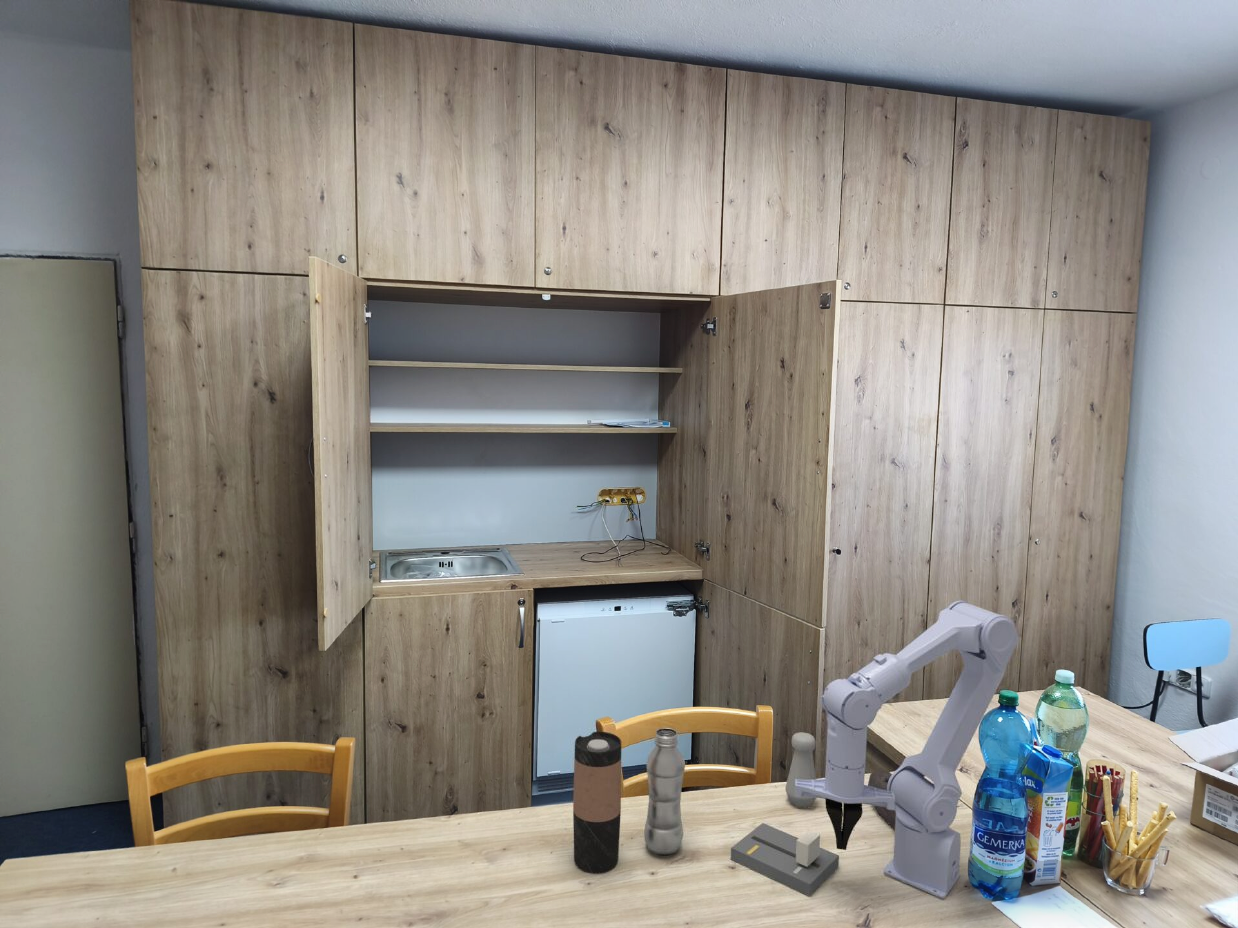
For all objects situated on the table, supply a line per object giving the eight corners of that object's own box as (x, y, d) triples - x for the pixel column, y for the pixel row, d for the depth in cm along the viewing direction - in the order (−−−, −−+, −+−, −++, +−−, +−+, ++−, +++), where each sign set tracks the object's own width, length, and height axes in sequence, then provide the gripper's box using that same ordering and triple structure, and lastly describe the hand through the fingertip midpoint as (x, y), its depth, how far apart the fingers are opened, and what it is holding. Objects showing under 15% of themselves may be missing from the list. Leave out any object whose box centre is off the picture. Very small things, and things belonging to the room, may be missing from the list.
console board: (838, 866, 125) (839, 854, 125) (809, 896, 118) (809, 883, 118) (762, 833, 134) (762, 822, 134) (730, 859, 127) (731, 846, 127)
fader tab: (819, 855, 124) (820, 834, 124) (807, 866, 121) (808, 845, 121) (807, 850, 125) (808, 829, 125) (795, 861, 122) (796, 840, 122)
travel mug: (614, 877, 121) (616, 754, 120) (567, 870, 123) (568, 749, 121) (623, 849, 129) (626, 733, 127) (579, 843, 130) (580, 728, 129)
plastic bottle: (636, 852, 128) (639, 735, 126) (654, 832, 134) (657, 720, 132) (672, 864, 125) (676, 744, 123) (689, 843, 131) (692, 729, 129)
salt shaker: (820, 811, 142) (823, 742, 141) (788, 810, 142) (791, 741, 141) (812, 794, 148) (815, 728, 147) (782, 794, 148) (785, 728, 147)
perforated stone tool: (931, 848, 131) (933, 809, 131) (901, 849, 131) (903, 810, 130) (891, 801, 146) (893, 766, 145) (864, 802, 145) (866, 767, 145)
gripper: (892, 754, 120) (887, 838, 122) (796, 743, 123) (792, 824, 125) (898, 776, 113) (893, 864, 115) (796, 763, 117) (792, 849, 118)
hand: (841, 845), depth 119 cm, fingers closed
